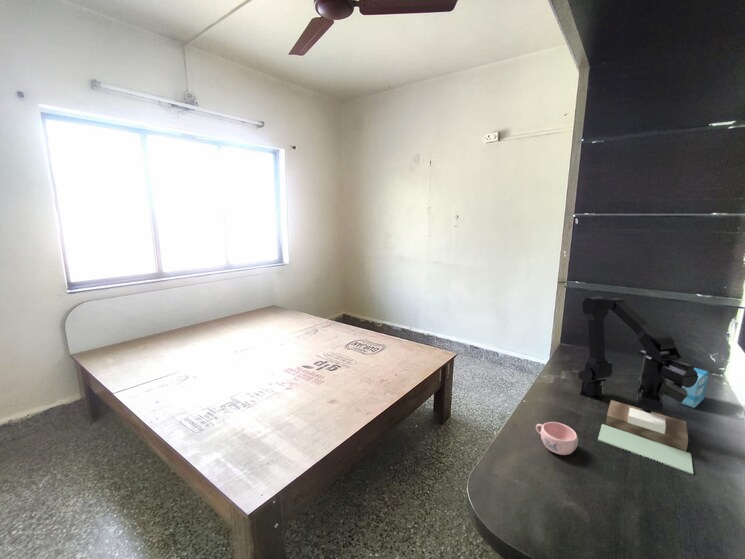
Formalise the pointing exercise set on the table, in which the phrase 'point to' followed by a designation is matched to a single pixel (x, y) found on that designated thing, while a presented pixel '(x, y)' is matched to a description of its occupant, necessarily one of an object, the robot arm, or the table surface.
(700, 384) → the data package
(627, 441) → the mat
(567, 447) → the mug
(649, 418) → the tile
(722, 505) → the table surface
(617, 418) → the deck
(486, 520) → the table surface
